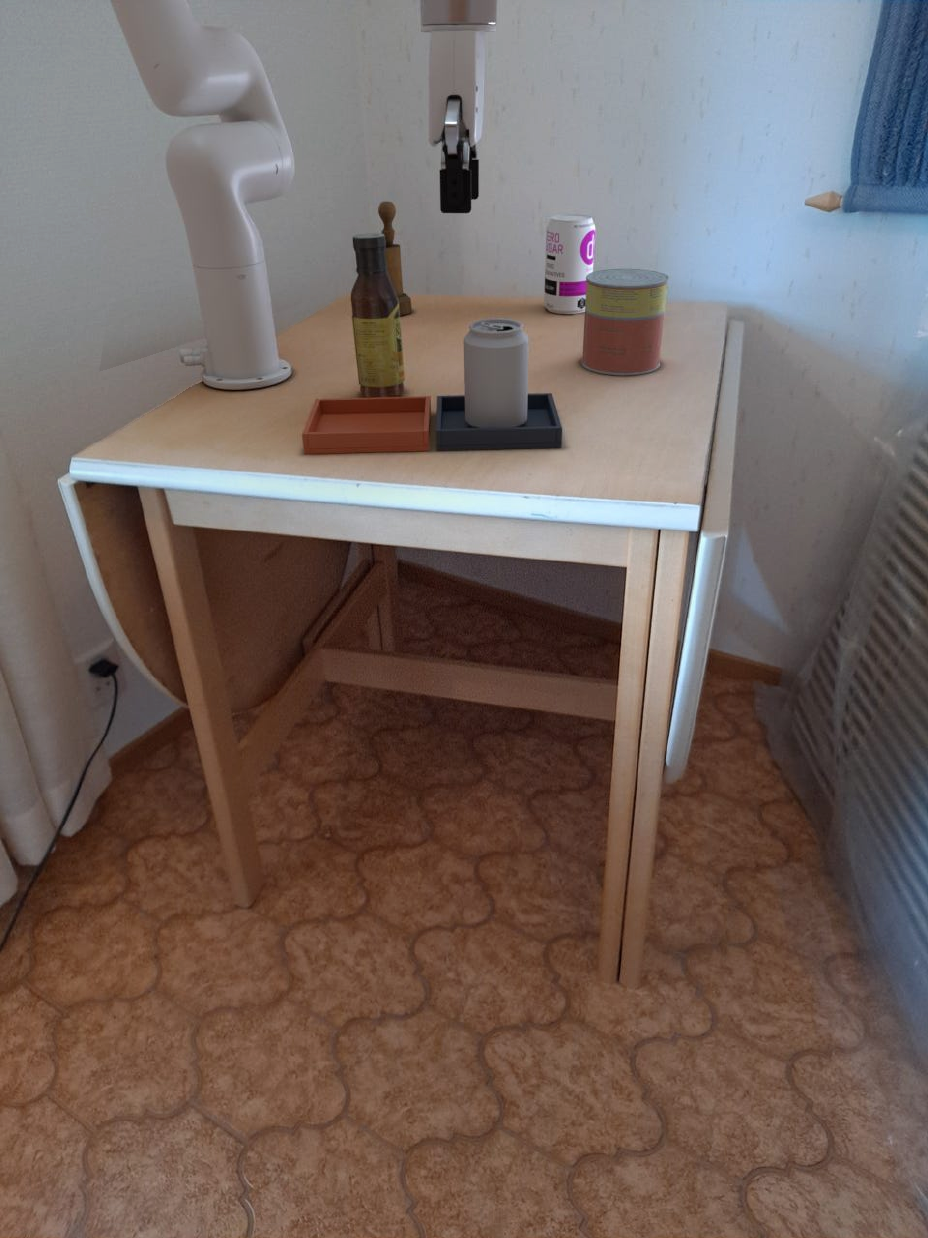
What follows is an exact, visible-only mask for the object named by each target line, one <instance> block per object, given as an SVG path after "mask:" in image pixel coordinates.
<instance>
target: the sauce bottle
mask: <svg viewBox="0 0 928 1238" xmlns="http://www.w3.org/2000/svg"><path fill="white" fill-rule="evenodd" d="M351 239H352V247H353V251H354V254H355V264H356V265H355V266H356V268H355V271H356V273H357V277H356V279H355V281H354V284H353V286H352V288H351V291H350V306H351V322H352V324H351V325H352V333H353V341H354V352H355V353H354V354H355V360H356V362H355V363H356V369H357V380H358V385H359V386H360V390H359V391H360V394H361V396H362V398H373V397H401V396H402V395H403V394H404V392H405V383H404V382H405V381H406V376H405V375H406V373H405V362H404V348H403V347H404V346H403V335H402V334H403V333H402V323H401V322H402V321H401V316H400V308H399V299H398V297H397V294H396V292H395V289H394V287H393V284H392V282H391V279H390V276H389V274H388V271H387V267H386V257H385V247H386V241H385V235H384V234H382V233H379V232H365V233H360V234H355V235H353V236H352V238H351Z"/></svg>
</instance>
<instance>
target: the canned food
mask: <svg viewBox="0 0 928 1238" xmlns="http://www.w3.org/2000/svg"><path fill="white" fill-rule="evenodd" d="M586 280H587V281H586V300H585V312H584V320H583V340H582V356H581V357H582V358H581V366H582V367H583V368H584V369H586V370H588V371H590V372H594V373H598V374H601V375H608V376H622V377H623V376H624V377H625V376H627V377H628V376H639V375H644V374H649V373H653V372H655V371H657V370H658V369H659V368H660V366H661V361H660V360H661V351H662V341H663V332H664V322H665V321H664V320H665V314H666V313H665V311H666V302H667V293H668V283H669V280H670V277H669V276H668V275H667V274H665V273H663V272H659V271H655V270H651V269H641V268H610V269H601V270H596V271H593V272H592V273H590V274H588V275H587V276H586Z"/></svg>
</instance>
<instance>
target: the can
mask: <svg viewBox="0 0 928 1238" xmlns="http://www.w3.org/2000/svg"><path fill="white" fill-rule="evenodd" d="M468 329H469V330H468V332H467V333H466V334H465V336H464V337H463V341H462V342H463V383H464V387H463V388H464V395H465V420H466V422H467V423H468V424H470V425H471V426H472V427H473V428H504V427H520V426H521V425H522V424H524V423H525V421H526V420H527V401H528V394H529V393H528V392H529V348H530V347H529V346H530V345H529V343H530V340H529V339H530V338H529V336H528V334H526V333H527V332H525V331H524V330H523V329H524V324H523V323H522V322H521V321H519V320H516V319H512V318H506V317H505V318H503V317H497V318H496V317H492V318H482V319H478V320H474V321H472V322H470V323H469V324H468Z"/></svg>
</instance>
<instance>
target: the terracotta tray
mask: <svg viewBox="0 0 928 1238" xmlns="http://www.w3.org/2000/svg"><path fill="white" fill-rule="evenodd" d="M431 398H432V397H431V395H426V396H425V395H421V396H419V395H417V396H398V397H373V398H366V397H345V398H344V397H337V398H335V397H333V398H316V399H315V401H314V403H313V405H312V408H311V411H310V413H309V416H308V418H307V421H306V423H305V426H304V428H303V430H302V433H301V437H302V438H301V439H302V445H303V453H304V455H314V454H315V455H316V454H318V455H320V454H355V453H356V454H360V453H361V454H362V453H395V452H396V453H397V452H399V453H400V452H430V447H431V444H430V443H431V429H432V428H431V427H432V399H431Z"/></svg>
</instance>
